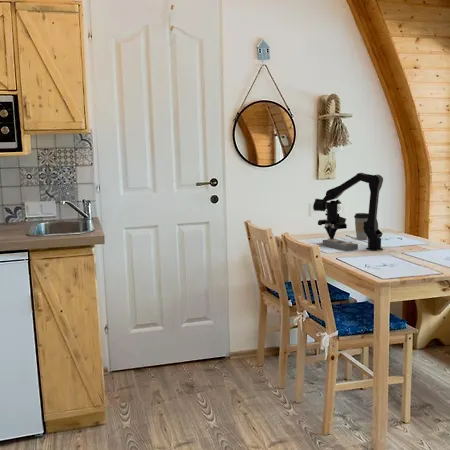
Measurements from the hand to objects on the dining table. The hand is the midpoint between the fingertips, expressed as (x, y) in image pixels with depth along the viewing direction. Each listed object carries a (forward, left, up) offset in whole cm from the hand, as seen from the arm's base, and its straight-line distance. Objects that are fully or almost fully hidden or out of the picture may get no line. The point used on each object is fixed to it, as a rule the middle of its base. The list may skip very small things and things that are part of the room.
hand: (331, 239), depth 292 cm
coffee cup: (+7, -28, -4) cm, 29 cm away
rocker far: (-2, 0, 0) cm, 2 cm away
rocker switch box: (-7, 0, -3) cm, 8 cm away
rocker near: (-12, 0, 0) cm, 12 cm away
